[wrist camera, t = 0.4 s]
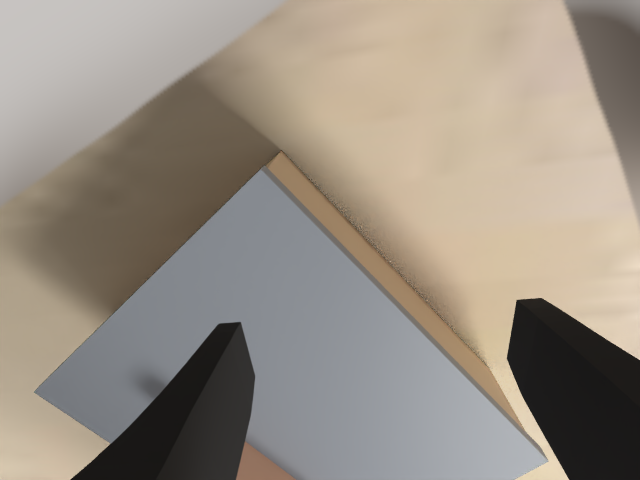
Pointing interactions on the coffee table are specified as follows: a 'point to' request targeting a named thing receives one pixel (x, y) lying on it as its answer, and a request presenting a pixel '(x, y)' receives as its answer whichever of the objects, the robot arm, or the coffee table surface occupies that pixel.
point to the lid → (296, 357)
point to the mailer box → (386, 275)
